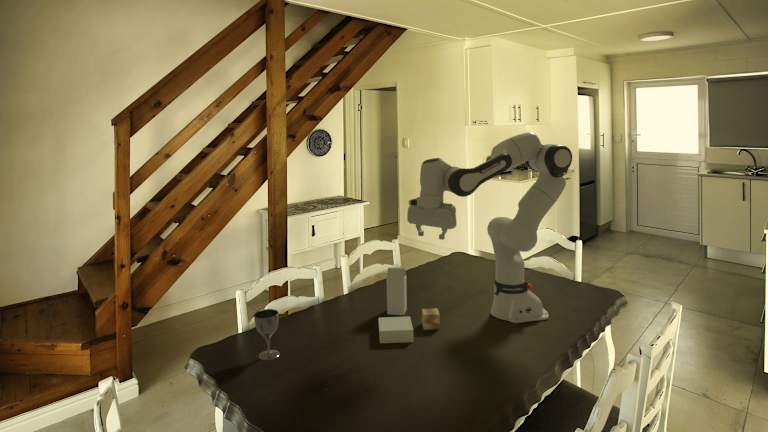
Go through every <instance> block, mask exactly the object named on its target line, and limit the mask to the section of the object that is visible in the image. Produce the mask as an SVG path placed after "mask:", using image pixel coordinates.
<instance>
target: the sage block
mask: <svg viewBox="0 0 768 432" xmlns="http://www.w3.org/2000/svg"><path fill="white" fill-rule="evenodd" d="M411 319H412V318H411V316H387V317H385V316H384V317H378V337H379V338H378V339H379V344H394V343H395V344H397V343H399V344H400V343H414V327H413V324H412V323H413V322H412V320H411Z"/></svg>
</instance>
